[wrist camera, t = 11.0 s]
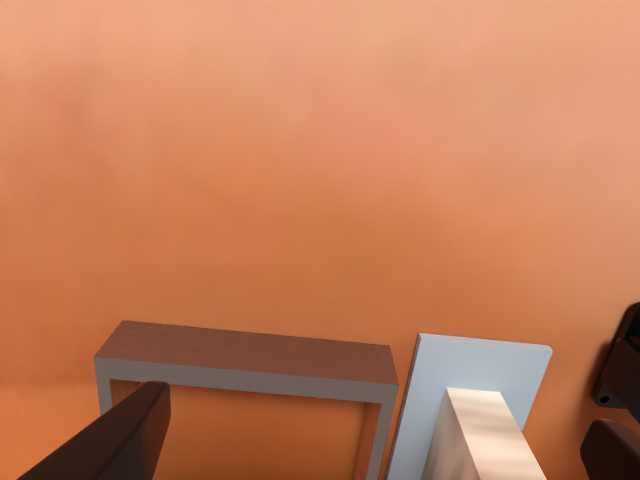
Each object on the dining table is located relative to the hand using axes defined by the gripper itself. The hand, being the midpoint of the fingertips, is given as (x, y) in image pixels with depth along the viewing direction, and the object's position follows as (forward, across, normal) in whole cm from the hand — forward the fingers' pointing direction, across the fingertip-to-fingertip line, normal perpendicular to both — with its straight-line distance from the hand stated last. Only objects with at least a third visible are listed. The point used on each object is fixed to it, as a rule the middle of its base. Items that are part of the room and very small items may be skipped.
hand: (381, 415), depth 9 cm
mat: (+12, -8, +14) cm, 20 cm away
